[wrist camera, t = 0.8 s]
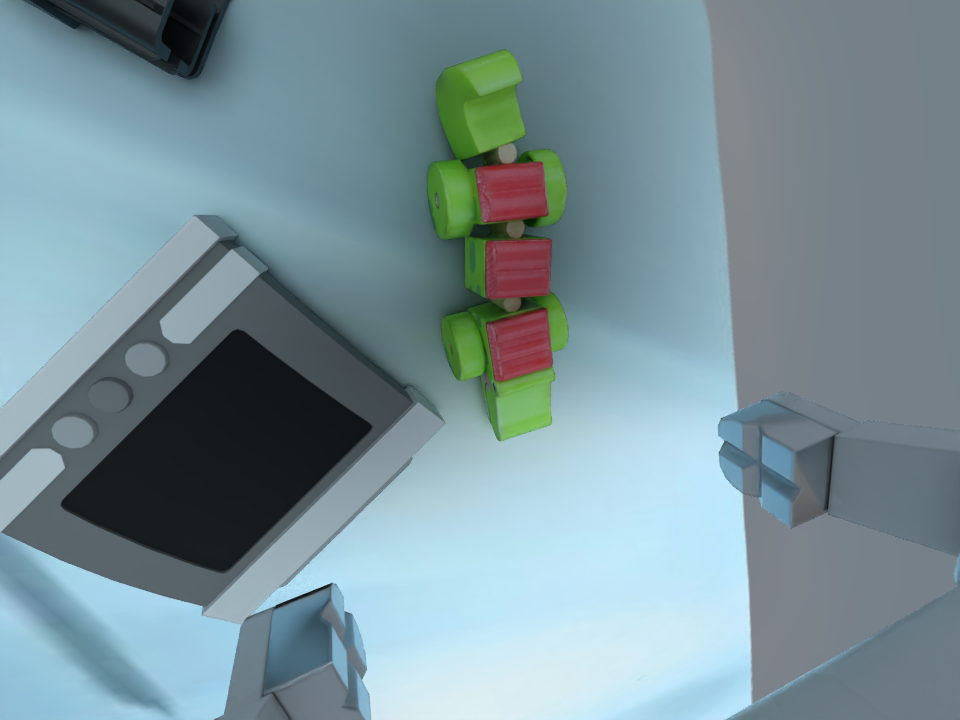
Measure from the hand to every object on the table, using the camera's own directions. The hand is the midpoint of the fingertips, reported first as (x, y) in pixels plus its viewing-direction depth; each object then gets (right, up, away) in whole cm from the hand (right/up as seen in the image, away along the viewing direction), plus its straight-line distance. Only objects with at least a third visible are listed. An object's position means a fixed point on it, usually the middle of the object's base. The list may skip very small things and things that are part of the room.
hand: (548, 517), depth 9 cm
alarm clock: (-15, -1, +17) cm, 23 cm away
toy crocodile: (-1, +9, +18) cm, 20 cm away
